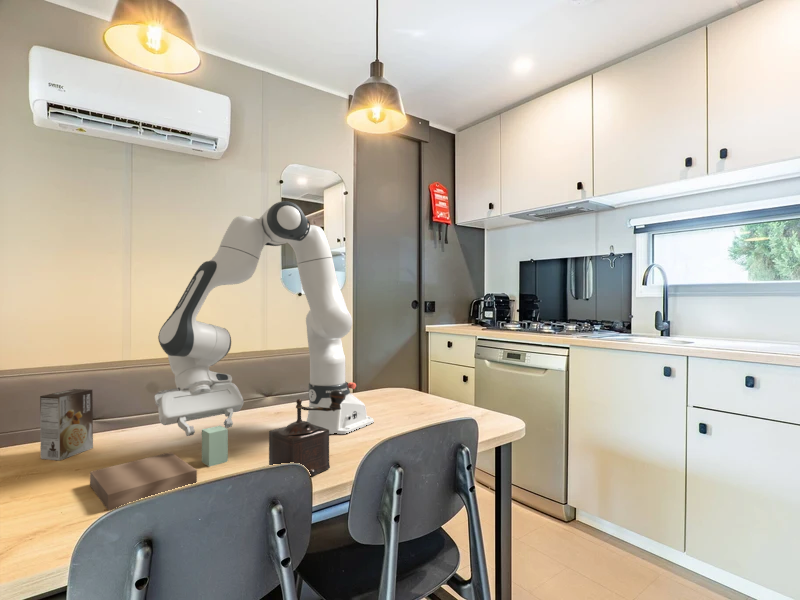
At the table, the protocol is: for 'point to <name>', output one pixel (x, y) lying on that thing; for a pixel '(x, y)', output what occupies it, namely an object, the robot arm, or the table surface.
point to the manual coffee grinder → (304, 439)
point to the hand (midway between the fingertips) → (210, 430)
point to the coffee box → (66, 423)
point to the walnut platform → (140, 479)
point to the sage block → (214, 445)
